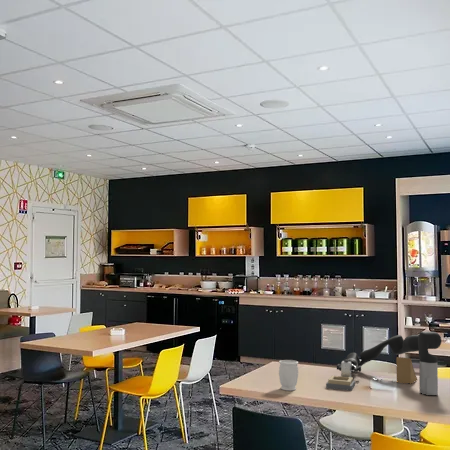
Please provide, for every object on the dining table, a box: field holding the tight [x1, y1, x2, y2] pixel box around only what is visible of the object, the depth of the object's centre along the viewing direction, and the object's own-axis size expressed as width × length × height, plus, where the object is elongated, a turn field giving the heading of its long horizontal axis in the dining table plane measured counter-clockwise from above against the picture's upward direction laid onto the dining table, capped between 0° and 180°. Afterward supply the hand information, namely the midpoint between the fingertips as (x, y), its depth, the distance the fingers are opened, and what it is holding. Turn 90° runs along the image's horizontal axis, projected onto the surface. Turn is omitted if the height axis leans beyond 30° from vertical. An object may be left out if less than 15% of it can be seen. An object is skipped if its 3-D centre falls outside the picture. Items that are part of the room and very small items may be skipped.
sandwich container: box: [395, 356, 418, 385], centre depth 322 cm, size 9×15×15 cm, turn 146°
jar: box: [278, 359, 299, 392], centre depth 294 cm, size 11×10×15 cm
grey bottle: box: [340, 359, 352, 377], centre depth 313 cm, size 5×5×13 cm
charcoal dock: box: [325, 375, 356, 392], centre depth 302 cm, size 14×14×4 cm
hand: (347, 369), depth 318 cm, fingers open, 8 cm apart
